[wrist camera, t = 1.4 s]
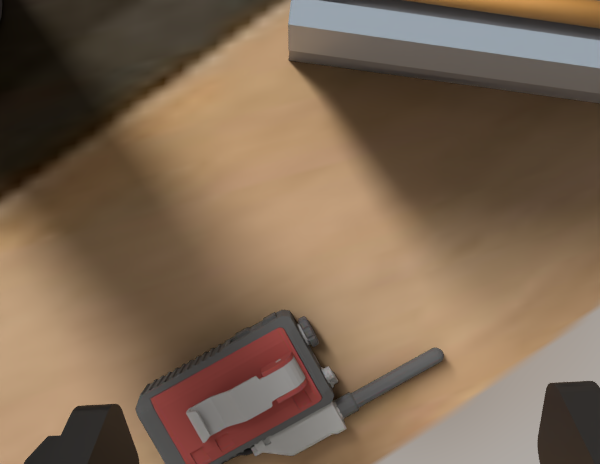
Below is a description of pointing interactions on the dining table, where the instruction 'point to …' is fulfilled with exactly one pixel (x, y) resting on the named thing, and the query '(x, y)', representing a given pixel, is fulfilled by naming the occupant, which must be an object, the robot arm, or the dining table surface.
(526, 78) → the duct lid
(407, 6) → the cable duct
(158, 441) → the walkie-talkie
